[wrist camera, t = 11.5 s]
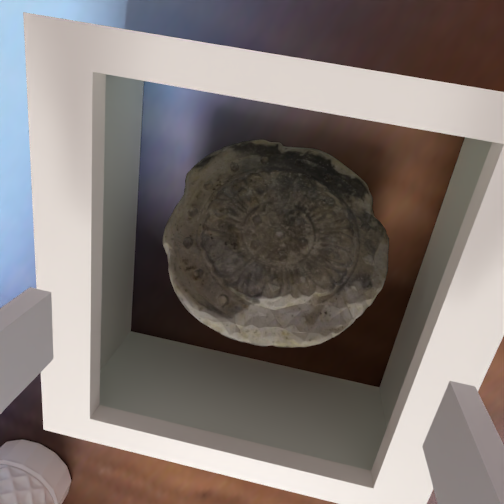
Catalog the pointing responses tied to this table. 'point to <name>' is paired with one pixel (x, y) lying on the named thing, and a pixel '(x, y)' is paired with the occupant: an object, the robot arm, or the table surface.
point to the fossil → (275, 245)
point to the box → (225, 364)
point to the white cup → (32, 474)
